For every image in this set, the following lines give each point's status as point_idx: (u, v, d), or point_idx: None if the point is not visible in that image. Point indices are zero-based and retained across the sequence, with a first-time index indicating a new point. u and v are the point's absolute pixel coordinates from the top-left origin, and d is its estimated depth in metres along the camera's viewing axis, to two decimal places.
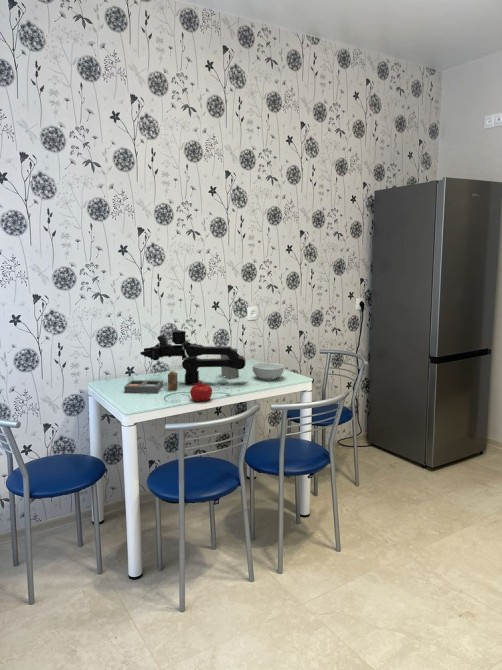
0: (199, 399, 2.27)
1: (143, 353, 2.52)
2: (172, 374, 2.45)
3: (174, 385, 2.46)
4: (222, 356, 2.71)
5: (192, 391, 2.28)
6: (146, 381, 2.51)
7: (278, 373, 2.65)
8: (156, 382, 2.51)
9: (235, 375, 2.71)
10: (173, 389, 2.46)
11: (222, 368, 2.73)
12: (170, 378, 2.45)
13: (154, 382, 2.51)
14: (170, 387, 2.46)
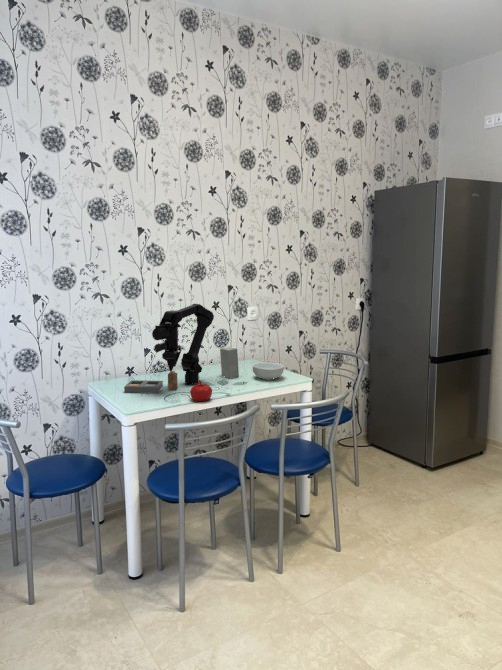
0: (199, 399, 2.27)
1: (170, 368, 2.41)
2: (172, 374, 2.45)
3: (174, 385, 2.46)
4: (222, 356, 2.71)
5: (192, 391, 2.28)
6: (146, 381, 2.51)
7: (278, 373, 2.65)
8: (156, 382, 2.51)
9: (235, 375, 2.71)
10: (173, 389, 2.46)
11: (222, 368, 2.73)
12: (170, 378, 2.45)
13: (154, 382, 2.51)
14: (170, 387, 2.46)
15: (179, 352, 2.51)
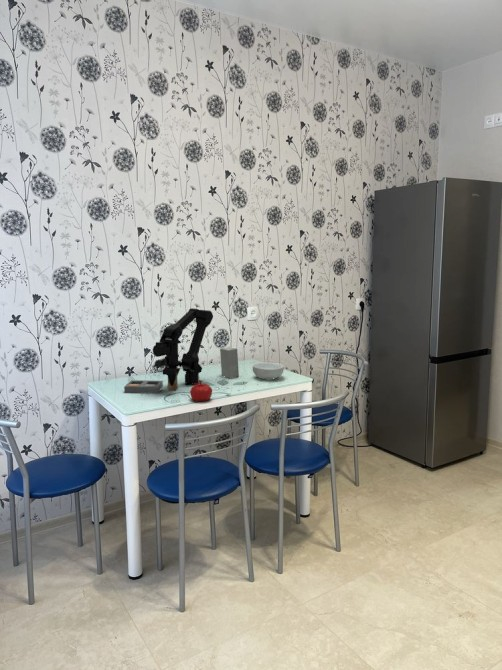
0: (199, 399, 2.27)
1: (171, 382, 2.44)
2: None
3: (174, 385, 2.46)
4: (222, 356, 2.71)
5: (192, 391, 2.28)
6: (146, 381, 2.51)
7: (278, 373, 2.65)
8: (156, 382, 2.51)
9: (235, 375, 2.71)
10: (173, 389, 2.46)
11: (222, 368, 2.73)
12: None
13: (154, 382, 2.51)
14: (170, 387, 2.46)
15: (178, 369, 2.50)
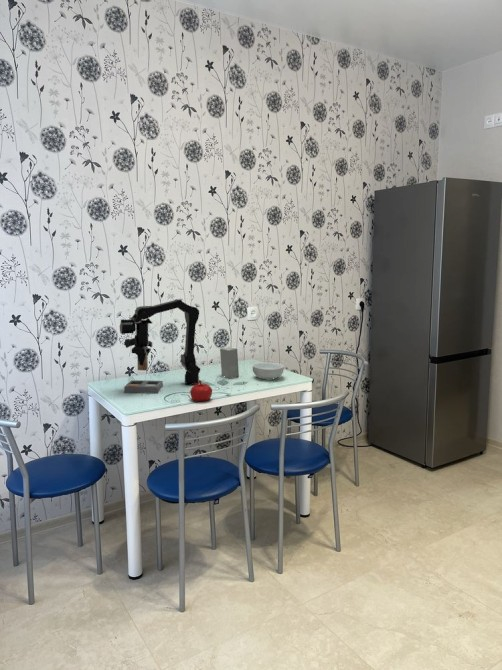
0: (199, 399, 2.27)
1: (141, 362, 2.43)
2: None
3: (143, 365, 2.44)
4: (222, 356, 2.71)
5: (192, 391, 2.28)
6: (146, 381, 2.51)
7: (278, 373, 2.65)
8: (156, 382, 2.51)
9: (235, 375, 2.71)
10: (143, 369, 2.45)
11: (222, 368, 2.73)
12: None
13: (154, 382, 2.51)
14: (140, 367, 2.44)
15: (149, 349, 2.48)
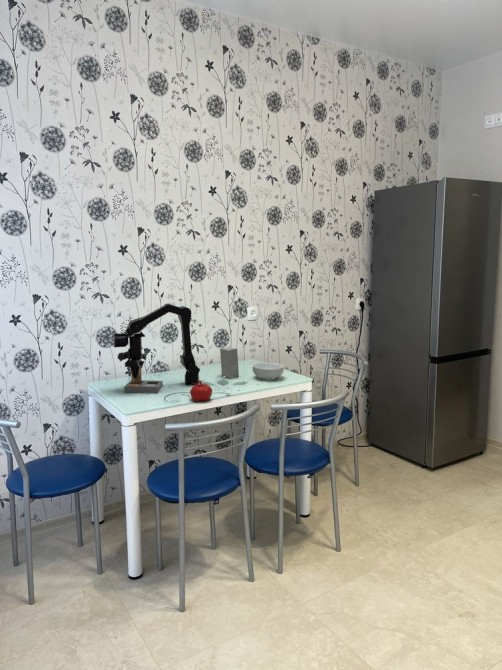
0: (199, 399, 2.27)
1: (135, 375, 2.45)
2: None
3: (137, 378, 2.46)
4: (222, 356, 2.71)
5: (192, 391, 2.28)
6: (146, 381, 2.51)
7: (278, 373, 2.65)
8: (156, 382, 2.51)
9: (235, 375, 2.71)
10: (137, 382, 2.46)
11: (222, 368, 2.73)
12: None
13: (154, 382, 2.51)
14: (134, 380, 2.46)
15: (142, 362, 2.50)
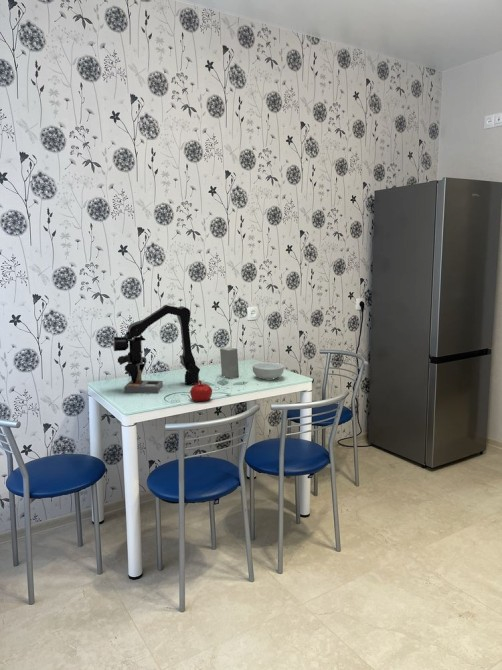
0: (199, 399, 2.27)
1: (133, 380, 2.43)
2: None
3: (137, 382, 2.46)
4: (222, 356, 2.71)
5: (192, 391, 2.28)
6: (146, 381, 2.51)
7: (278, 373, 2.65)
8: (156, 382, 2.51)
9: (235, 375, 2.71)
10: None
11: (222, 368, 2.73)
12: None
13: (154, 382, 2.51)
14: None
15: (143, 364, 2.52)
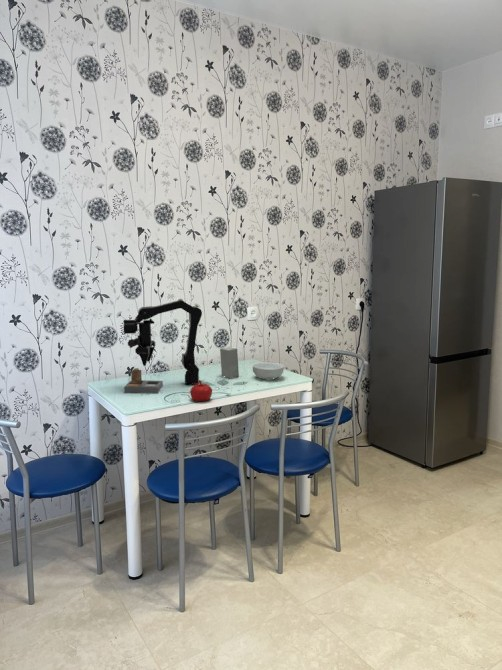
0: (199, 399, 2.27)
1: (144, 362, 2.46)
2: (135, 371, 2.46)
3: (137, 382, 2.46)
4: (222, 356, 2.71)
5: (192, 391, 2.28)
6: (146, 381, 2.51)
7: (278, 373, 2.65)
8: (156, 382, 2.51)
9: (235, 375, 2.71)
10: None
11: (222, 368, 2.73)
12: (134, 375, 2.46)
13: (154, 382, 2.51)
14: None
15: (153, 347, 2.56)
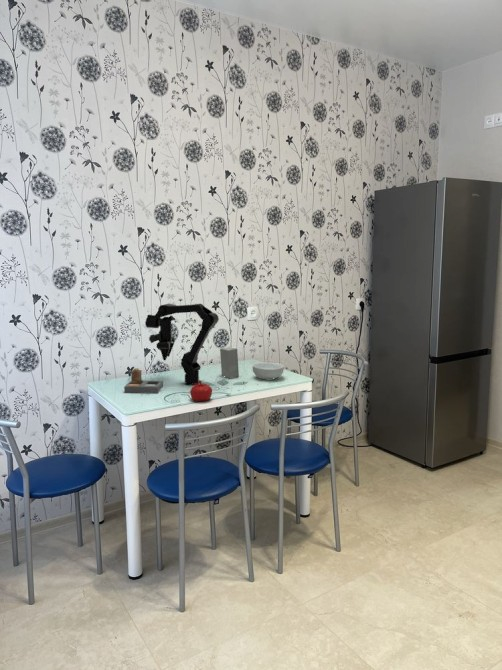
0: (199, 399, 2.27)
1: (164, 357, 2.56)
2: (135, 371, 2.46)
3: (137, 382, 2.46)
4: (222, 356, 2.71)
5: (192, 391, 2.28)
6: (146, 381, 2.51)
7: (278, 373, 2.65)
8: (156, 382, 2.51)
9: (235, 375, 2.71)
10: None
11: (222, 368, 2.73)
12: (134, 375, 2.46)
13: (154, 382, 2.51)
14: None
15: (173, 343, 2.66)
